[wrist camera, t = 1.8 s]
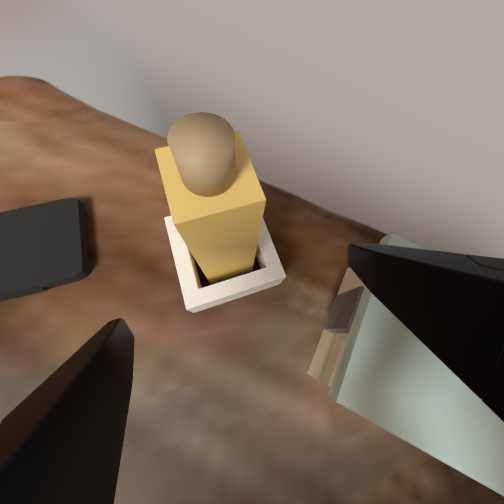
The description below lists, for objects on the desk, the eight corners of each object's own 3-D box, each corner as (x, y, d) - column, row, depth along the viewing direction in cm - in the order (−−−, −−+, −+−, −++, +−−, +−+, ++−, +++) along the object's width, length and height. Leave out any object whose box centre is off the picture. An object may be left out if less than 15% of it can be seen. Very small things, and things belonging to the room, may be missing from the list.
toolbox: (570, 373, 19) (798, 401, 11) (568, 525, 16) (894, 718, 8) (342, 262, 22) (400, 222, 14) (298, 374, 18) (342, 407, 10)
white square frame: (279, 284, 21) (286, 276, 18) (194, 312, 19) (186, 309, 17) (251, 210, 23) (253, 193, 20) (174, 232, 22) (164, 217, 19)
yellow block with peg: (252, 270, 21) (272, 167, 8) (210, 284, 20) (156, 196, 7) (239, 233, 22) (237, 89, 9) (199, 244, 22) (135, 108, 8)
